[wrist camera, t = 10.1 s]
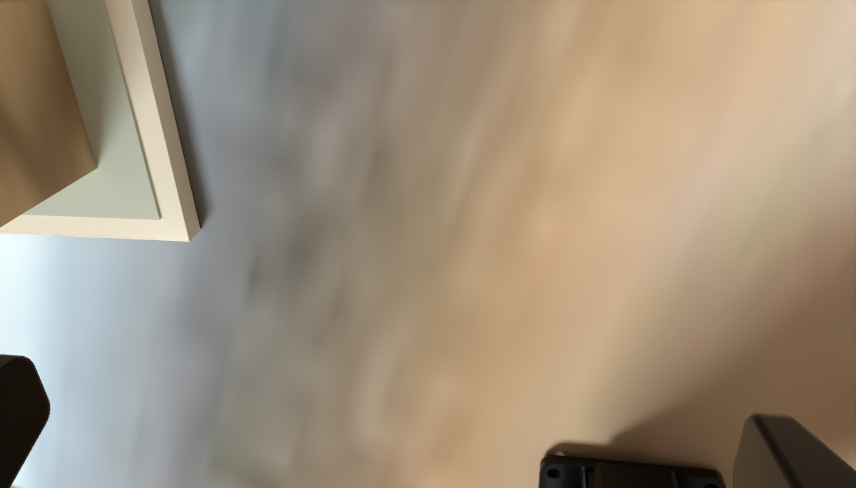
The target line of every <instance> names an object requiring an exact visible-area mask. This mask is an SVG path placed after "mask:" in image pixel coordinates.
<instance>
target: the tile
mask: <svg viewBox="0 0 856 488" xmlns="http://www.w3.org/2000/svg"><path fill="white" fill-rule="evenodd" d="M47 3H48V6H49V9H50V13H51V16H52V19H53V23H54V26H55V29H56V33H57V36H58V39H59V43H60V46H61V49H62V52H63V56H64V59H65V62H66V66H67V69H68V72H69V76H70V79H71V82H72V86H73V89H74V92H75V96H76V99H77V102H78V105H79V109H80V112H81V115H82V119H83V122H84V125H85V129H86V132H87V135H88V139H89V142H90V145H91V148H92V152H93V155H94V158H95V162H96V165H97V169H95V170H93V171H92V172H90V173H89V174H87V175H85V176H84V177H82V178H80V179H79V180H77V181H76V182H74V183H72V184H71V185H69V186H67V187H66V188H64V189H62V190H61V191H59V192H58V193H56V194H54V195H53V196H51V197H49V198H48V199H46V200H44V201H43V202H41V203H40V204H38V205H36V206H35V207H33V208H31V209H30V210H28V211H27V212H25V213H23V214H22V215H20V216H18V217H17V218H15V219H13V220H12V221H10V222H9V223H7V224H5V225H4V226H2V227H0V233H9V234H32V235H55V236H77V237H100V238H123V239H146V240H169V241H190V240H191V239H192V238H193V237H194V236H195V235H196V234H197V233H198V232H199V231H200V225H199V221H198V217H197V212H196V208H195V204H194V199H193V195H192V191H191V186H190V182H189V178H188V173H187V169H186V165H185V160H184V156H183V151H182V147H181V143H180V138H179V134H178V130H177V125H176V121H175V117H174V112H173V108H172V104H171V99H170V95H169V91H168V86H167V82H166V77H165V73H164V69H163V64H162V60H161V56H160V51H159V47H158V43H157V38H156V34H155V30H154V25H153V21H152V17H151V12H150V8H149V3H148V0H47Z"/></svg>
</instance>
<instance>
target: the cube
mask: <svg viewBox="0 0 856 488" xmlns="http://www.w3.org/2000/svg"><path fill="white" fill-rule="evenodd" d="M95 169H97V165H96V162H95V158H94V155H93V152H92V148H91V145H90V142H89V139H88V135H87V132H86V129H85V125H84V122H83V119H82V115H81V112H80V109H79V105H78V102H77V99H76V96H75V92H74V89H73V86H72V82H71V79H70V76H69V72H68V69H67V66H66V62H65V59H64V56H63V52H62V49H61V46H60V43H59V39H58V36H57V33H56V29H55V26H54V23H53V19H52V16H51V13H50V9H49V6H48V3H47V0H0V227H2V226H4V225H5V224H7V223H9V222H10V221H12V220H13V219H15V218H17V217H18V216H20V215H22V214H23V213H25V212H27V211H28V210H30V209H31V208H33V207H35V206H36V205H38V204H40V203H41V202H43V201H44V200H46V199H48V198H49V197H51V196H53V195H54V194H56V193H58V192H59V191H61V190H62V189H64V188H66V187H67V186H69V185H71V184H72V183H74V182H76V181H77V180H79V179H80V178H82V177H84V176H85V175H87V174H89V173H90V172H92V171H93V170H95Z"/></svg>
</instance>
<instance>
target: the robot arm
mask: <svg viewBox="0 0 856 488" xmlns="http://www.w3.org/2000/svg"><path fill="white" fill-rule="evenodd" d="M49 415H50V402H49V399H48V397H47V394H46V392H45V389H44V387H43V384H42V382H41V380H40V377H39V375H38V372H37V370H36V368H35V365H34V364H33V362H32V361H31V360H30V359H29V358H27V357H24V356H18V355H5V354H0V488H10V487H11V485H12V483H13V481H14V480H15V478H16V476H17V474H18V473H19V471H20V469H21V467H22V465H23V464H24V462H25V460H26V458H27V457H28V455H29V453H30V451H31V450H32V448H33V446H34V444H35V442H36V441H37V439H38V437H39V435H40V434H41V432H42V430H43V428H44V426H45V425H46V423H47V421H48V418H49ZM553 468H555V469H557V470H551V469H553ZM709 483H713V484H709ZM733 484H734V488H856V471H855V470H854V469H853V468H852V467H851V466H850V465H848V464H847V463H846V462H845V461H844V460H842V459H841V458H840V457H839V456H838V455H837V454H835V453H834V452H833V451H832V450H831V449H829V448H828V447H827V446H826V445H825V444H824V443H822V442H821V441H820V440H819V439H818V438H816V437H815V436H814V435H813V434H812V433H811V432H809V431H808V430H807V429H806V428H805V427H803V426H802V425H801V424H800V423H799V422H798V421H796V420H795V419H793V418H792V417H790V416H787V415H782V414H769V413H752V414H750V415H749V416H748V418H747V419H746V421H745V424H744V428H743V431H742V435H741V439H740V443H739V446H738V450H737V454H736V458H735V462H734V467H733ZM539 488H726V485H725V482H724V479H723V476H722V475H721V473H719V472H717V471H715V470H710V469H699V468H688V467H677V466H666V465H655V464H644V463H633V462H622V461H611V460H600V459H588V458H577V457H566V456H555V455H553V456H547V457H544V458H543V459H542V460H541V463H540V473H539Z"/></svg>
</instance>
